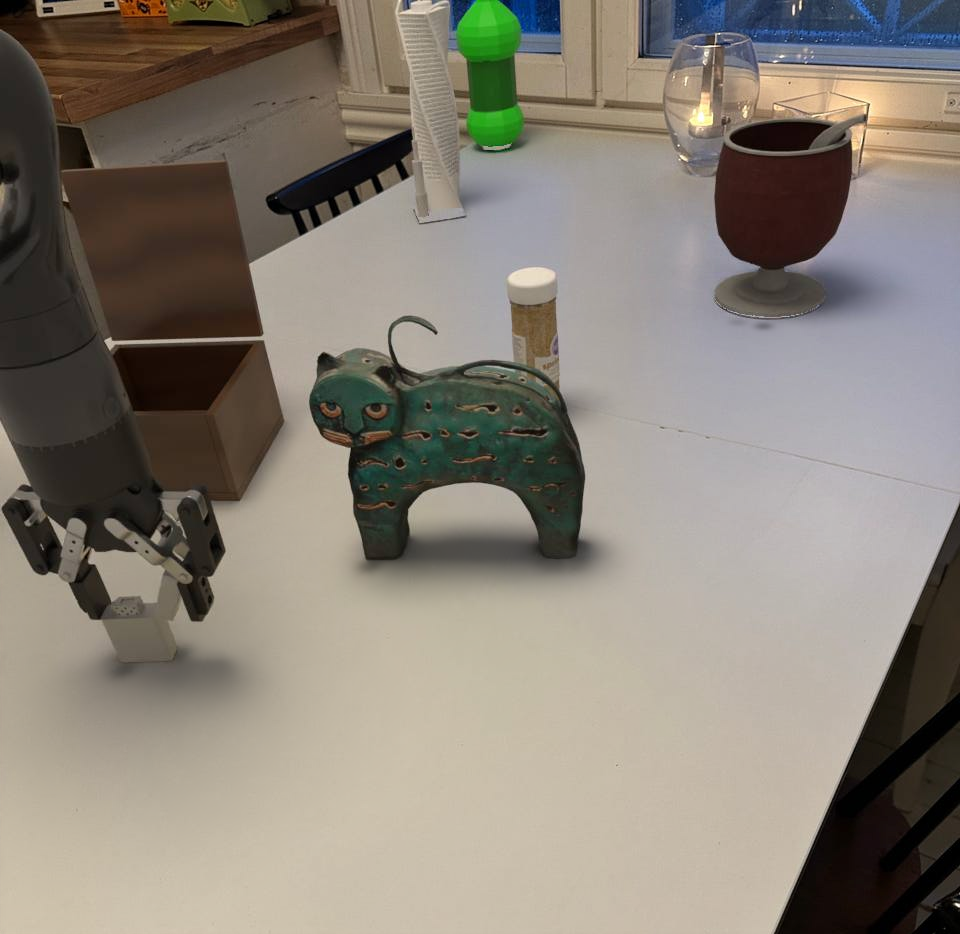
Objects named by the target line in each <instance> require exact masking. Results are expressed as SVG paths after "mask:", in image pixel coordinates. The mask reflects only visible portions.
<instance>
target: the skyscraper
mask: <svg viewBox="0 0 960 934" xmlns="http://www.w3.org/2000/svg"><path fill="white" fill-rule="evenodd" d="M401 1H402V0H397V3H396V7H395V12H394V17H395V20H396V23H397V28H398V32H399V36H400V40H401V44H402V48H403V49H402V50H403V52H404V53H403V54H404V57H405V60H406V64H407V69H408V72H409V107H410V109H409V110H410V118H411V119H410V120H411V127H410V128H411V135H412V140H411V146H412V147H411V148H412V155H413V160H411V164H412V173H413V179H414V187H415V193H414V196H415V203H416V206H417V210H418V217H423V218H424V217H426V216H429V213H428V211H429V212H431V211H438V210H443V209H451V208H462V207H463V204H462V202H461V200H460V183H461V181H460V178H461V142H460V141H461V140H460V125H459V123H460V122H459V115H458V107H457V101H456V96H455V91H454V86H453V83H452V77H451V75H450V71H449V68H448V56H449V39H450V38H449V37H450V19H451V18H450V17H451V4H450V1H449V0H440V1H438V2H436V3H434V4H433V3H432V2H433V1H432V0H415V1H413V2H411V3H410V8H409V9H406V10H403V11H400V12H399V9H400V5H401ZM458 197H459V198H458ZM413 212H414V211H413ZM414 214H415V212H414ZM415 218H416V220H417V221H418V219H417V217H416V216H415ZM463 218H467V215H466V216H463V217H457V218H451V219H444V220H438V221H431V222H425V223H419V222H418V225H424V224H430V223H436V222H443V221H448V220H449V221H450V220H456V219H463Z"/></svg>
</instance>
